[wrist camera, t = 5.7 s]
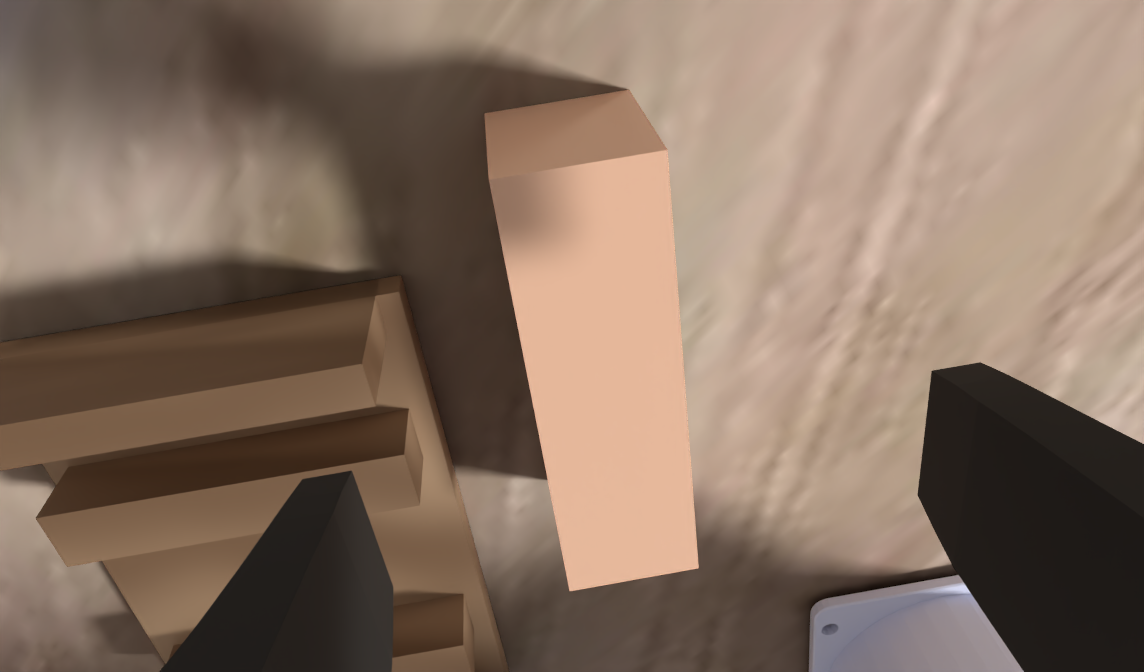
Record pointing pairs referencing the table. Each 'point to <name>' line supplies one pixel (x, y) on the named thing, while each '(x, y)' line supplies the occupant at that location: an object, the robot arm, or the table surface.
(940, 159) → the table surface
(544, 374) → the peach rectangular block
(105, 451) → the rack
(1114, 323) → the table surface
